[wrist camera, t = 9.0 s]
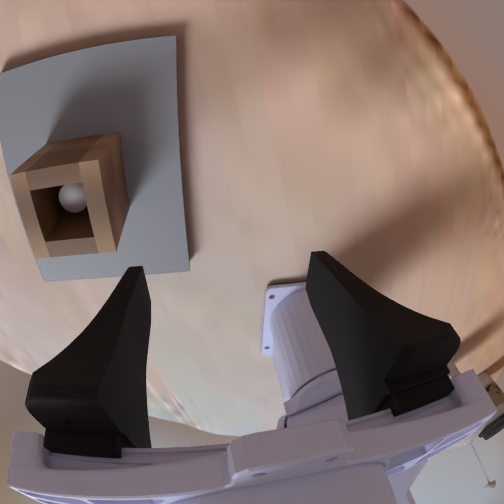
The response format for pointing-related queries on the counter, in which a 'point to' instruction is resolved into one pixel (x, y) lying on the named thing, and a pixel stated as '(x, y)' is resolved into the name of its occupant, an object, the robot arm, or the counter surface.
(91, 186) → the walnut collar
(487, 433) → the coffee cup
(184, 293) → the counter surface
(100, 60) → the pin plate
